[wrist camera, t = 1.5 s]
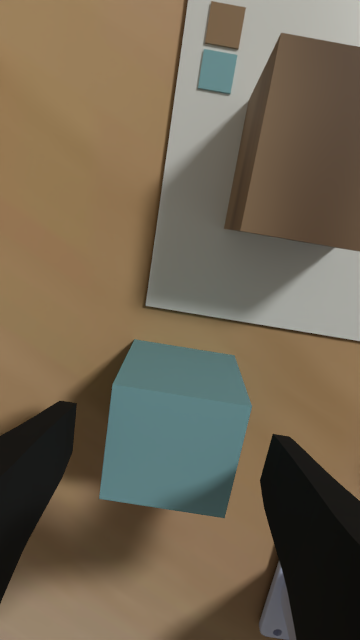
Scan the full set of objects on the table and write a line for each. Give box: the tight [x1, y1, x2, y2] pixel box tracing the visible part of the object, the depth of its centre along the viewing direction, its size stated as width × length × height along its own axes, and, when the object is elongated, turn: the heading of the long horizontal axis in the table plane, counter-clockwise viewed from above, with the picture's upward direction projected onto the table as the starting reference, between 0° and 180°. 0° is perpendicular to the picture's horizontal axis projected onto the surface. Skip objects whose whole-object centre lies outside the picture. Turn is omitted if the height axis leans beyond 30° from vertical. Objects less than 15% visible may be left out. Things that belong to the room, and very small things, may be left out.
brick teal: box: [99, 339, 252, 518], centre depth 14 cm, size 5×5×5 cm
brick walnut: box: [224, 33, 360, 252], centre depth 11 cm, size 5×5×5 cm
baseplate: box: [146, 0, 360, 341], centre depth 13 cm, size 10×12×1 cm
